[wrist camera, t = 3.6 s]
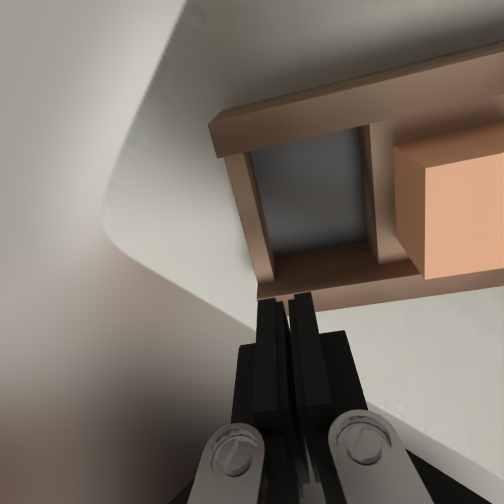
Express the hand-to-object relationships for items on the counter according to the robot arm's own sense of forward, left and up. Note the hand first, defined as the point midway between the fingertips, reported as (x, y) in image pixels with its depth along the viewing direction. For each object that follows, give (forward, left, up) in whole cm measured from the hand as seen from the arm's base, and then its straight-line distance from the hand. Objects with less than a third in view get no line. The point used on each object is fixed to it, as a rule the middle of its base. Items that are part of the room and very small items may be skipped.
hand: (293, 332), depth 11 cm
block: (0, +8, -9) cm, 12 cm away
